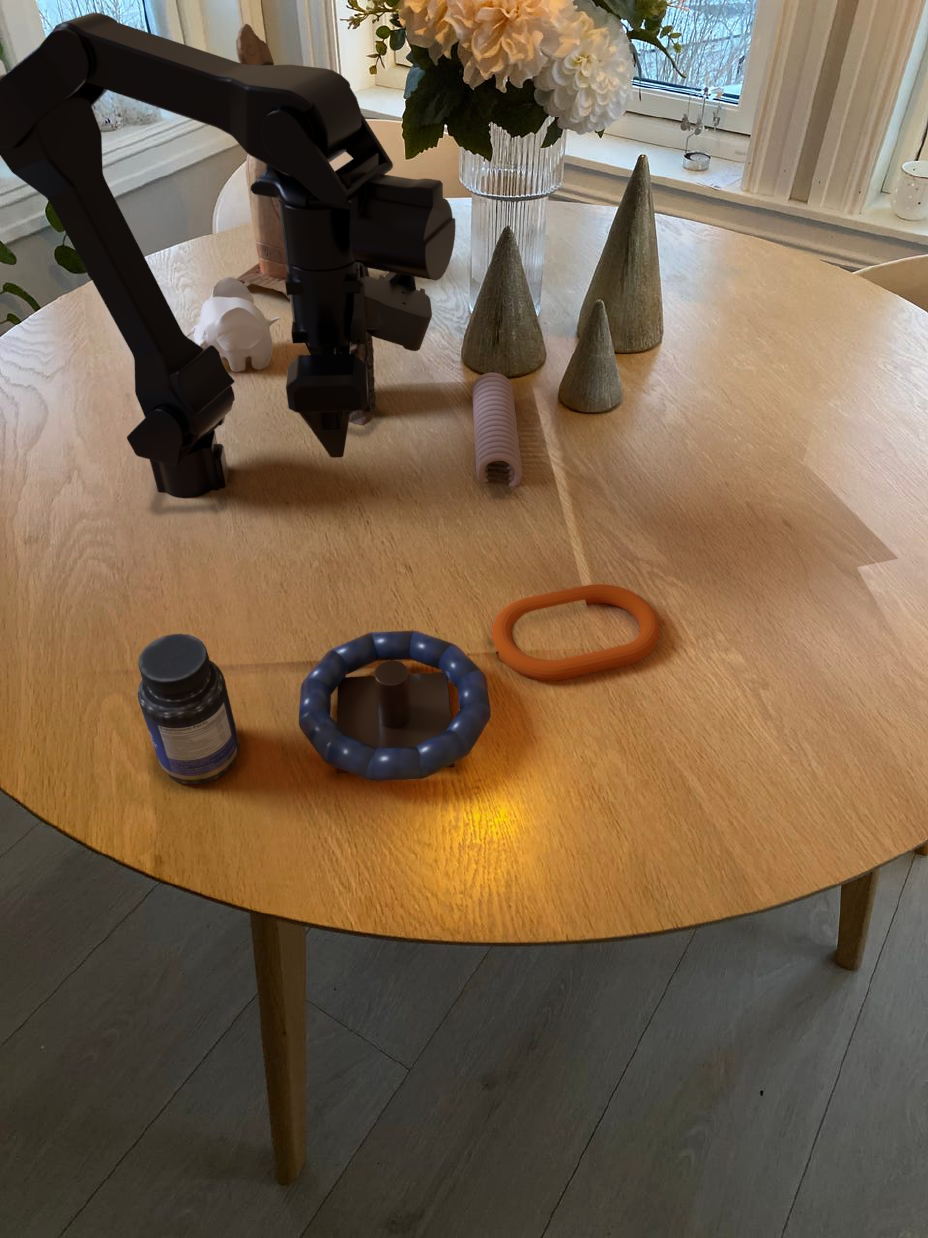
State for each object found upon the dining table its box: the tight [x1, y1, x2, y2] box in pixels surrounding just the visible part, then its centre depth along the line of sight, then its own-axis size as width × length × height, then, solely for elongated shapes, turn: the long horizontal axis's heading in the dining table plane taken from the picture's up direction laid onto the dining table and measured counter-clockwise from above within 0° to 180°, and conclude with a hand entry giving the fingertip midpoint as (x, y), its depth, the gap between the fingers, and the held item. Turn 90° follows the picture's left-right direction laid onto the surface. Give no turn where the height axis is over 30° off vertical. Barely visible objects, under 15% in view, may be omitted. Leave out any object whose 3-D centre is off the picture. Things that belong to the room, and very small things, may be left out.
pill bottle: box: [137, 633, 240, 785], centre depth 70 cm, size 6×6×11 cm
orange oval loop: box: [491, 583, 661, 681], centre depth 83 cm, size 10×2×15 cm
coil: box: [471, 372, 523, 488], centre depth 104 cm, size 5×5×18 cm
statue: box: [349, 266, 378, 426], centre depth 103 cm, size 7×7×20 cm
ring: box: [298, 630, 492, 783], centre depth 75 cm, size 15×15×2 cm
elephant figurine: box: [185, 276, 281, 373], centre depth 116 cm, size 10×12×9 cm
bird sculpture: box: [235, 23, 290, 300], centre depth 123 cm, size 11×12×32 cm
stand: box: [335, 660, 456, 775], centre depth 74 cm, size 9×9×6 cm
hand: (338, 427), depth 86 cm, fingers open, 9 cm apart
